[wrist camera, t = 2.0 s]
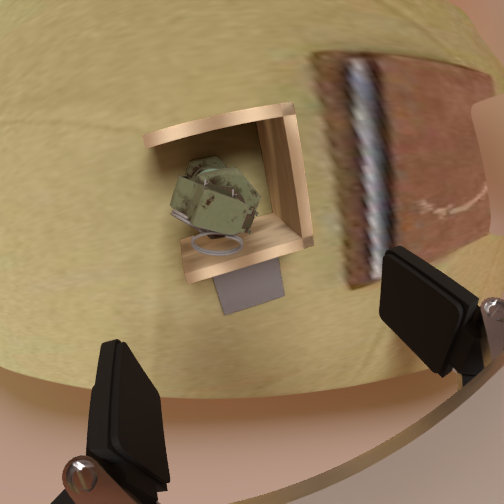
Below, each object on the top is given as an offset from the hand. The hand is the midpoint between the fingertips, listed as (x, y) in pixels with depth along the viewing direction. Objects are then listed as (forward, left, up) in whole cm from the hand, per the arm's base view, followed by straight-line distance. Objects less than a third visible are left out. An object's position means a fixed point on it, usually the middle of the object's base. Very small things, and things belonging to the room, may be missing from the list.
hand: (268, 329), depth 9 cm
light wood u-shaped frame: (-2, 0, -27) cm, 27 cm away
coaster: (-3, +14, -27) cm, 30 cm away
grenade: (0, 0, -27) cm, 27 cm away
